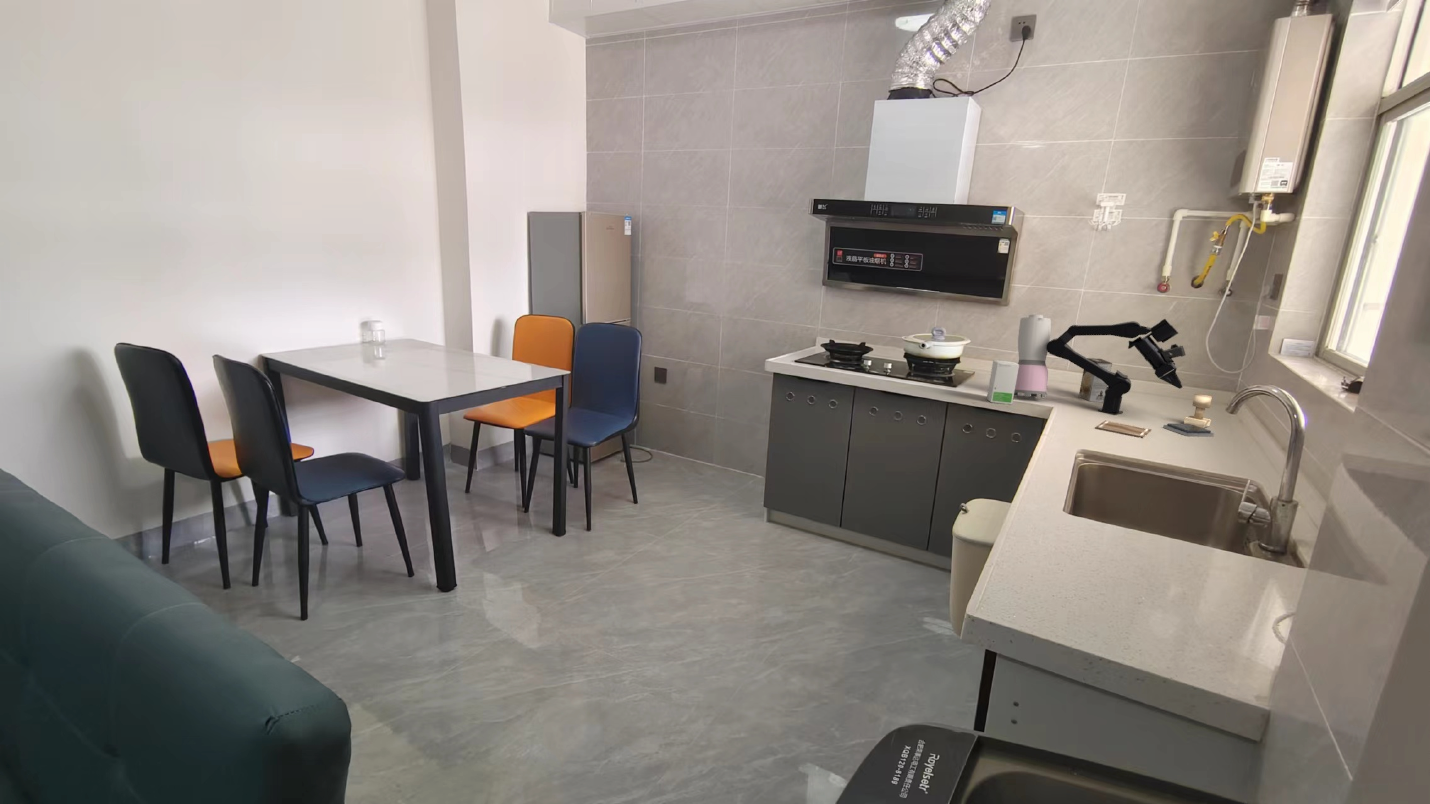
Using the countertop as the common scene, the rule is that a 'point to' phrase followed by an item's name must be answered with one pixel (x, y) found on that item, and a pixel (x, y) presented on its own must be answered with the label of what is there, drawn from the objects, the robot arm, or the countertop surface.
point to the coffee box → (1094, 383)
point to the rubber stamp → (1199, 411)
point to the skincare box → (1002, 382)
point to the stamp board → (1123, 429)
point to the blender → (1033, 356)
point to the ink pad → (1188, 430)
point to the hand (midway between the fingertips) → (1180, 385)
